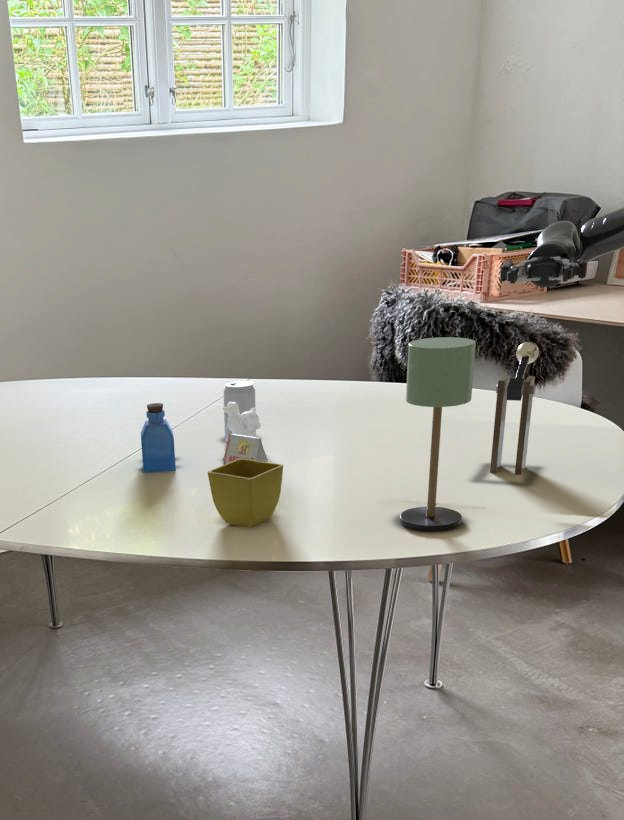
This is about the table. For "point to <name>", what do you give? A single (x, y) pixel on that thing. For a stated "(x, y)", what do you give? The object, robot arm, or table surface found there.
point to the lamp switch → (521, 369)
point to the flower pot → (246, 491)
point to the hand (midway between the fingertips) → (538, 276)
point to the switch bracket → (500, 423)
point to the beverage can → (239, 399)
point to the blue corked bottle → (157, 441)
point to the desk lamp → (437, 412)
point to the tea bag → (244, 449)
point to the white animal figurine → (241, 420)
